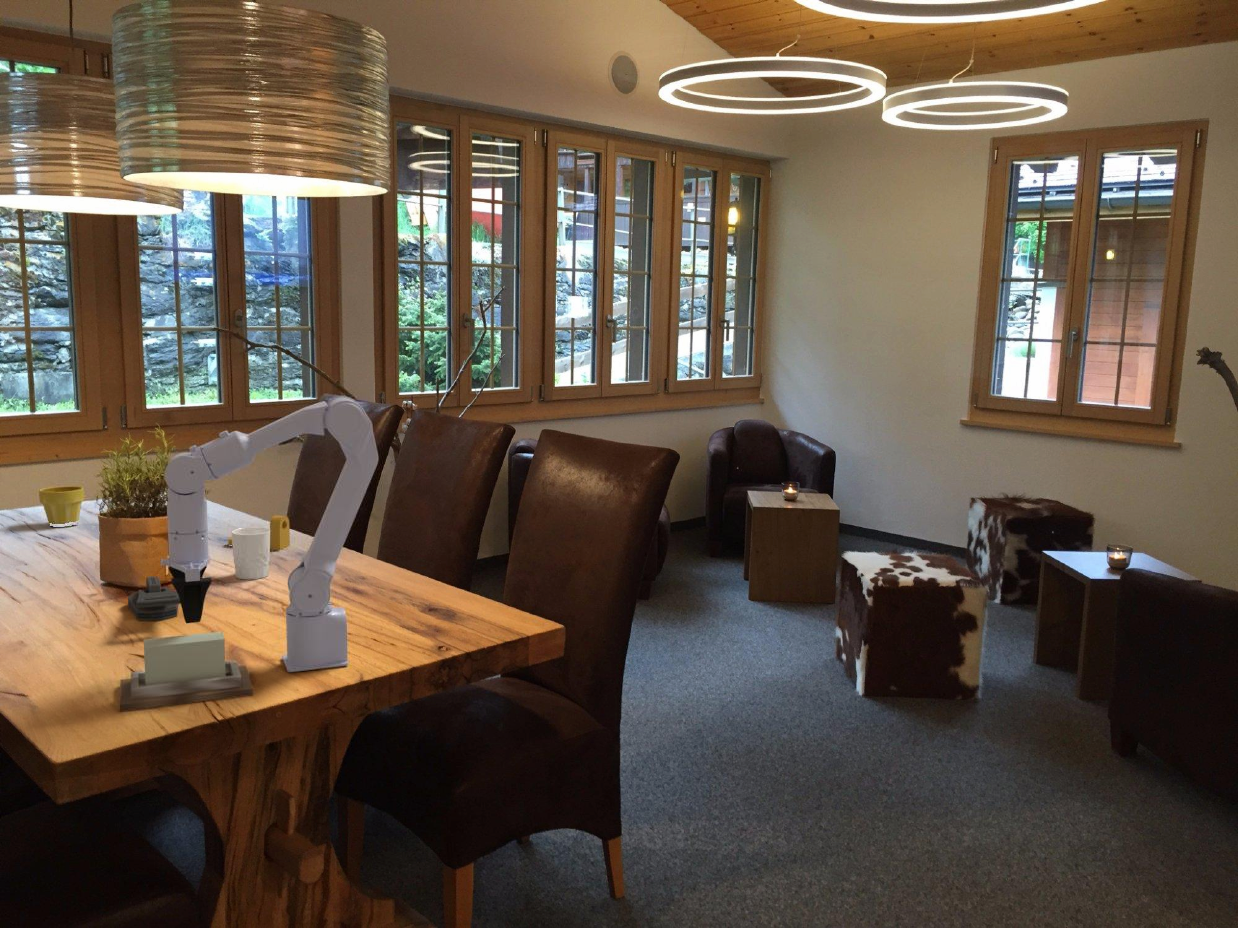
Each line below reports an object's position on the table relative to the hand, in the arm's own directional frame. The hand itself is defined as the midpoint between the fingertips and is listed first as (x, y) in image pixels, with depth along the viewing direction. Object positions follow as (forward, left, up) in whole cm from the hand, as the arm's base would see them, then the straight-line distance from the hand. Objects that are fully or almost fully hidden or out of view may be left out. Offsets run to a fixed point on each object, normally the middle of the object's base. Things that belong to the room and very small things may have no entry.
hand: (191, 615), depth 161 cm
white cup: (-15, -60, -10) cm, 63 cm away
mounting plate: (+1, +8, -9) cm, 12 cm away
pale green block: (+1, +8, -8) cm, 11 cm away
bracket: (-19, -89, -10) cm, 92 cm away
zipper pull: (+5, -34, -10) cm, 36 cm away
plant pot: (+25, -131, -10) cm, 134 cm away
